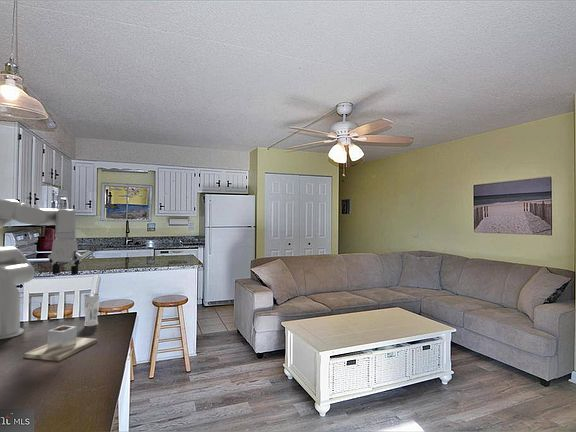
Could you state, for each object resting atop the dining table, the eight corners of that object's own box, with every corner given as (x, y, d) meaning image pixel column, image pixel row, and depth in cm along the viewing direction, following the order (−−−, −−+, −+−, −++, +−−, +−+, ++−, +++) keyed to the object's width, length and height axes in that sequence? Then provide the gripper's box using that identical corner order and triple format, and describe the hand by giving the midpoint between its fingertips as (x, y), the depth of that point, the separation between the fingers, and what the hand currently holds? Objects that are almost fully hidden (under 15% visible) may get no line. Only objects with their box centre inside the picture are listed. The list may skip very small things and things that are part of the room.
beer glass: (86, 328, 163) (87, 297, 163) (80, 325, 167) (81, 295, 167) (101, 324, 168) (102, 294, 168) (95, 321, 172) (95, 292, 172)
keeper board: (23, 357, 128) (23, 336, 128) (64, 339, 147) (65, 321, 147) (59, 360, 126) (59, 339, 126) (96, 342, 144) (97, 323, 144)
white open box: (47, 348, 134) (47, 330, 134) (62, 342, 140) (62, 325, 141) (62, 349, 132) (62, 332, 132) (76, 343, 139) (76, 326, 139)
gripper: (41, 236, 149) (41, 274, 149) (75, 237, 146) (75, 276, 145) (56, 235, 156) (55, 272, 156) (88, 236, 153) (88, 273, 153)
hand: (65, 274), depth 151 cm, fingers open, 9 cm apart
